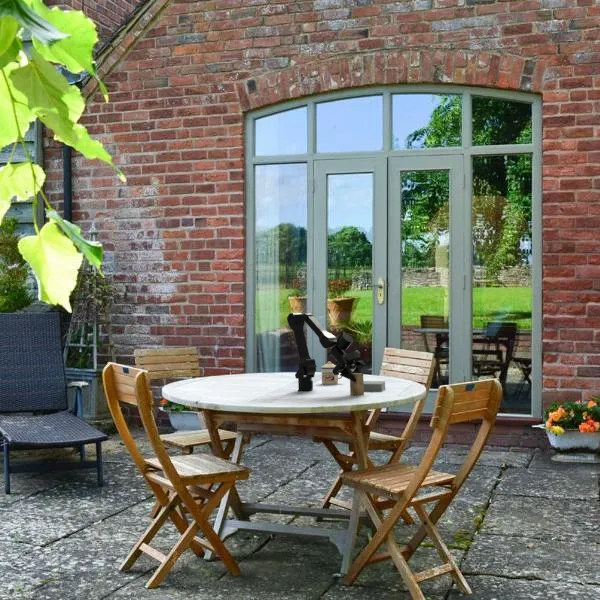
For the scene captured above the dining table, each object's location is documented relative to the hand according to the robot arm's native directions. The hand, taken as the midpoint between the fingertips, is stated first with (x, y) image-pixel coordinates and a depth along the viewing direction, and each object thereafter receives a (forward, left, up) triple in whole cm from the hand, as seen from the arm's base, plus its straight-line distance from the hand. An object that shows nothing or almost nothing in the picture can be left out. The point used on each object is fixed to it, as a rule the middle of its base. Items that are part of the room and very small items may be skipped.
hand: (358, 380), depth 397 cm
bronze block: (-1, +1, -7) cm, 7 cm away
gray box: (+3, +20, -7) cm, 21 cm away
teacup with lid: (-22, +48, -7) cm, 53 cm away
